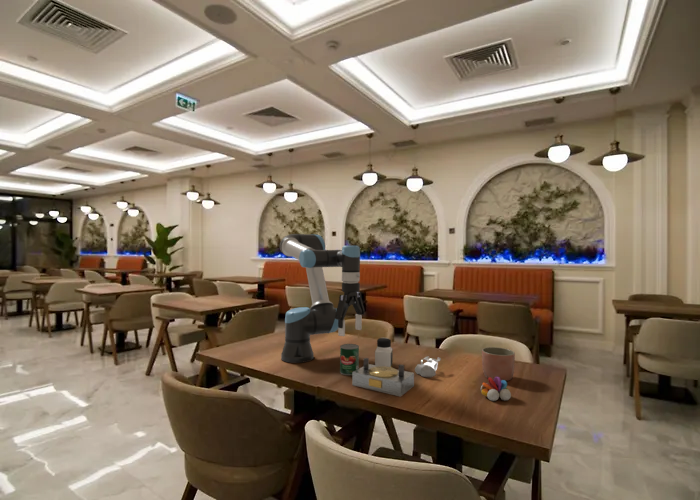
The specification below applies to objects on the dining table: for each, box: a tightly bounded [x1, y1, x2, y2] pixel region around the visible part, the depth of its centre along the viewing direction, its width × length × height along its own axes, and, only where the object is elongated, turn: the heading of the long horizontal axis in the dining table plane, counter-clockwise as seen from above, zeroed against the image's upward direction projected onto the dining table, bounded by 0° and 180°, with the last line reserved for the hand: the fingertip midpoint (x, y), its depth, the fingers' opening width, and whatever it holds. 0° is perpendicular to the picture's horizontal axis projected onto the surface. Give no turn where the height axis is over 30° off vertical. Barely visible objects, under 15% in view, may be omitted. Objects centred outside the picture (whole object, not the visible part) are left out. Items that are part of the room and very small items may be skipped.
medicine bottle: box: [374, 337, 394, 368], centre depth 165 cm, size 7×7×12 cm
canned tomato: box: [339, 343, 360, 376], centre depth 156 cm, size 8×8×11 cm
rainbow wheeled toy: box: [480, 377, 512, 402], centre depth 131 cm, size 8×10×7 cm
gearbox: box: [351, 357, 415, 397], centre depth 141 cm, size 20×13×9 cm, turn 58°
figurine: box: [414, 355, 442, 378], centre depth 155 cm, size 9×6×12 cm
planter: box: [481, 346, 516, 382], centre depth 150 cm, size 12×12×11 cm
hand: (350, 332), depth 156 cm, fingers open, 13 cm apart
